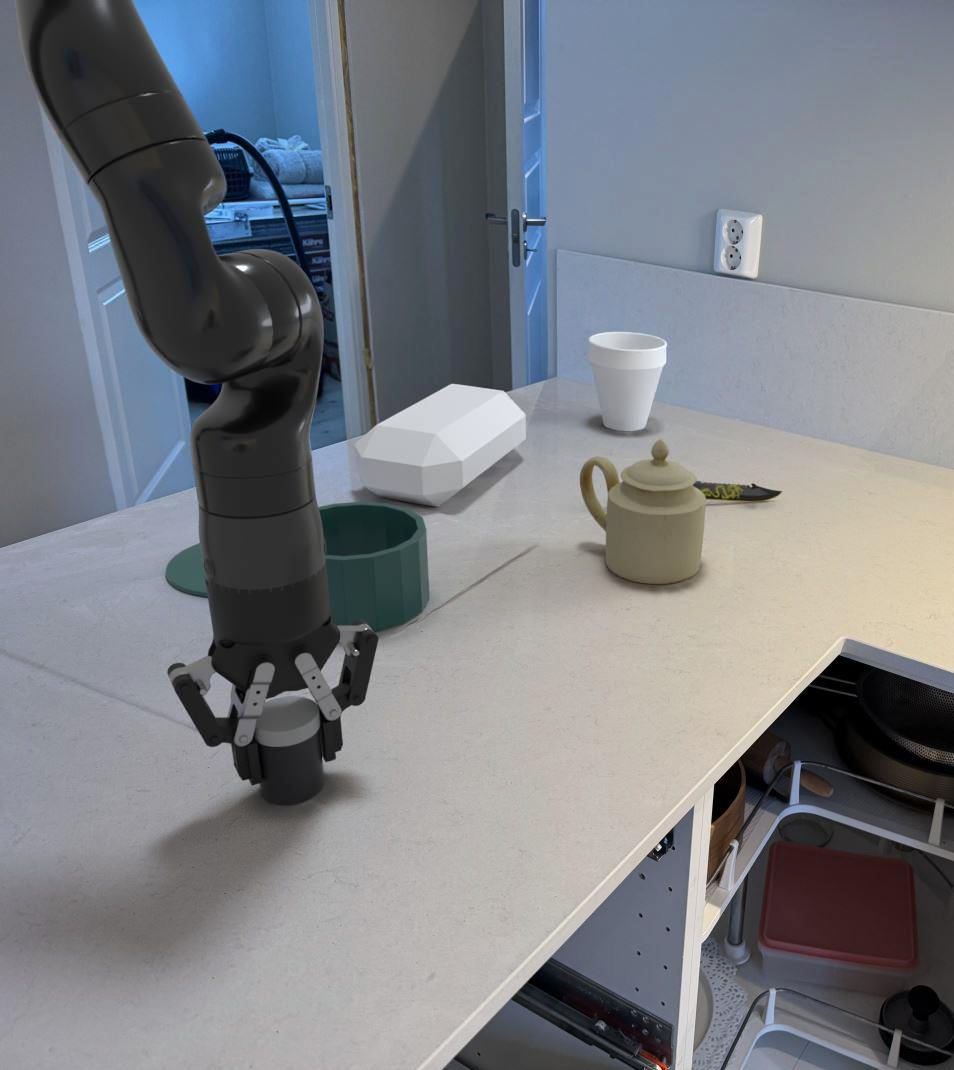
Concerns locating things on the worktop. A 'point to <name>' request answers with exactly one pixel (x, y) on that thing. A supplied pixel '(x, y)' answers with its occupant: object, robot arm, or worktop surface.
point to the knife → (735, 492)
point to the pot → (375, 563)
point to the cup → (626, 376)
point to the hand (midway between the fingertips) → (290, 766)
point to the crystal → (439, 444)
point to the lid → (188, 571)
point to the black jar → (289, 750)
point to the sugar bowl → (649, 518)
